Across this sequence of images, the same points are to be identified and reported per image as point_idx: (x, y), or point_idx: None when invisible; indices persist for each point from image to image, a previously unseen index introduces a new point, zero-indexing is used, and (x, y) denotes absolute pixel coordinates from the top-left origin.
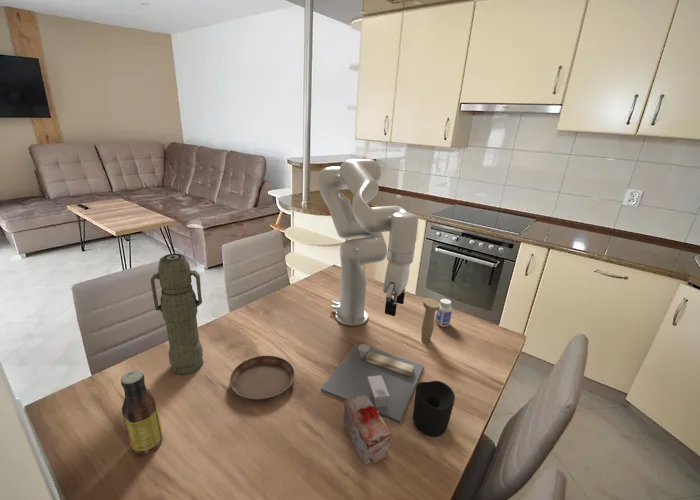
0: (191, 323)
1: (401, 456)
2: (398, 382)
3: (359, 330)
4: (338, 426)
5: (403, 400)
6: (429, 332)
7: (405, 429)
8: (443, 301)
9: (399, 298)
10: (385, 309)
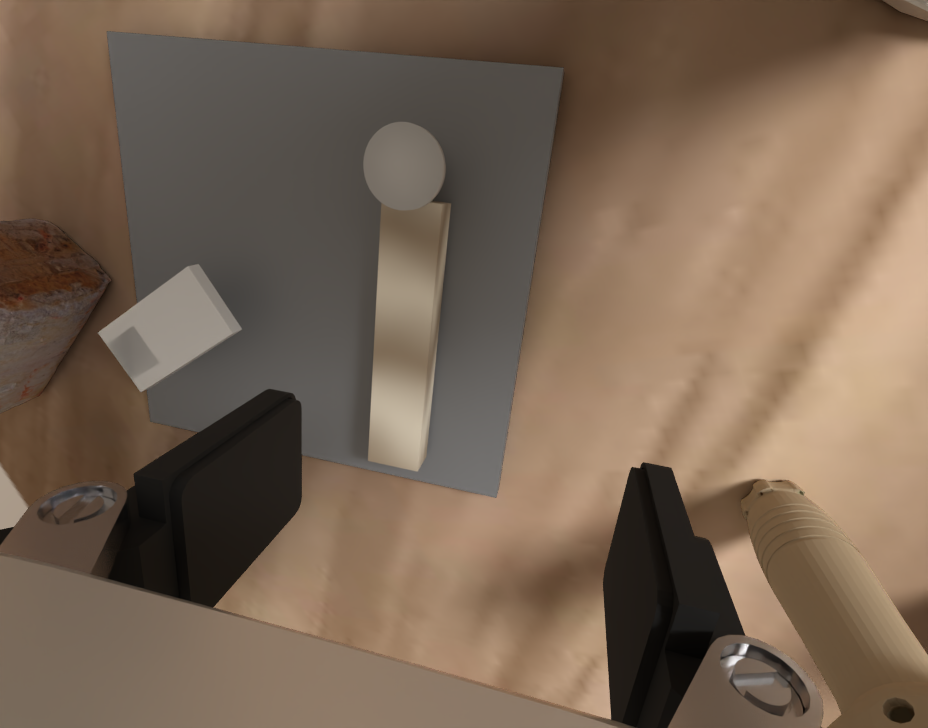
0: None
1: (67, 431)
2: (327, 394)
3: (777, 16)
4: (32, 202)
5: None
6: (760, 564)
7: (153, 435)
8: None
9: (618, 595)
10: (234, 415)
